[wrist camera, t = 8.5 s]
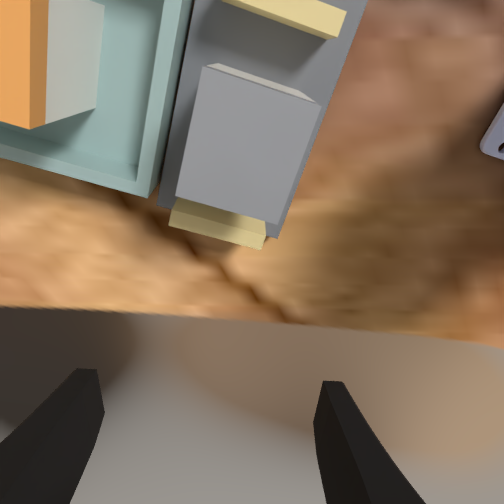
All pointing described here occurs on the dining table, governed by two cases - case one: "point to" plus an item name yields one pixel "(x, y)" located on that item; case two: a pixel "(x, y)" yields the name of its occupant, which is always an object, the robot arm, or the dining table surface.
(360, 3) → the block
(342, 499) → the robot arm
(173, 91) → the tray
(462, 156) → the dining table surface
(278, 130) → the block
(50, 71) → the block
